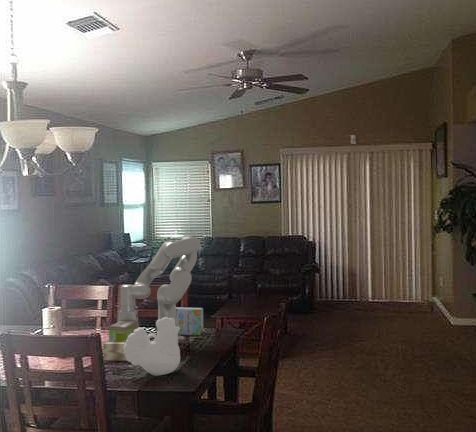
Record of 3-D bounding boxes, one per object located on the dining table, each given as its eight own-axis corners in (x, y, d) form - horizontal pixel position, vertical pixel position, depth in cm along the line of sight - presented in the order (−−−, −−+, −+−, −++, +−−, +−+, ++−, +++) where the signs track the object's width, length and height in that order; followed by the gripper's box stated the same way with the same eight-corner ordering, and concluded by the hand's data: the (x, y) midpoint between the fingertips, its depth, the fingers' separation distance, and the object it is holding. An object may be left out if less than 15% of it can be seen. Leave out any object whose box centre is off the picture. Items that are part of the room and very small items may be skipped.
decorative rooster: (179, 366, 266) (179, 313, 266) (181, 377, 251) (181, 319, 250) (124, 369, 262) (123, 315, 262) (123, 380, 247) (122, 322, 246)
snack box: (203, 333, 335) (203, 307, 334) (200, 335, 329) (200, 309, 329) (169, 332, 339) (168, 306, 339) (165, 334, 334) (165, 308, 334)
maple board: (129, 358, 281) (129, 342, 281) (128, 360, 278) (127, 343, 278) (105, 358, 282) (104, 342, 281) (103, 360, 279) (103, 343, 278)
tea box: (127, 356, 285) (127, 326, 285) (108, 355, 287) (107, 326, 287) (138, 349, 300) (138, 320, 300) (120, 348, 302) (120, 320, 302)
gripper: (143, 307, 306) (143, 341, 307) (115, 306, 307) (115, 341, 308) (140, 309, 299) (140, 345, 299) (111, 309, 300) (111, 344, 300)
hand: (127, 343), depth 303 cm, fingers closed
